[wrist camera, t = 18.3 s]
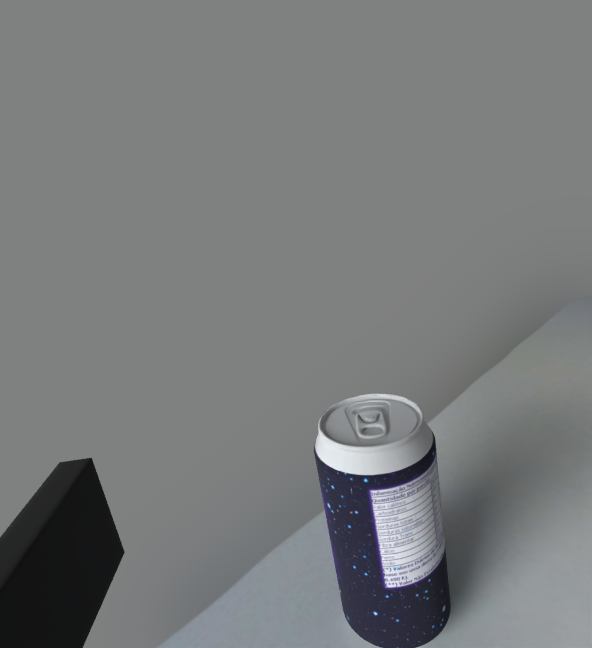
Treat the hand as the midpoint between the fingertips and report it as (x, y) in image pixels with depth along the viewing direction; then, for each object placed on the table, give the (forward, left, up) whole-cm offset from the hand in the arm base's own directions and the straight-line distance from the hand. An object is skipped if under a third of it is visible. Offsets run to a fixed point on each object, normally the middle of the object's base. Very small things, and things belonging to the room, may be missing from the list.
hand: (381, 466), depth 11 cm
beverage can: (+1, +11, -17) cm, 20 cm away
